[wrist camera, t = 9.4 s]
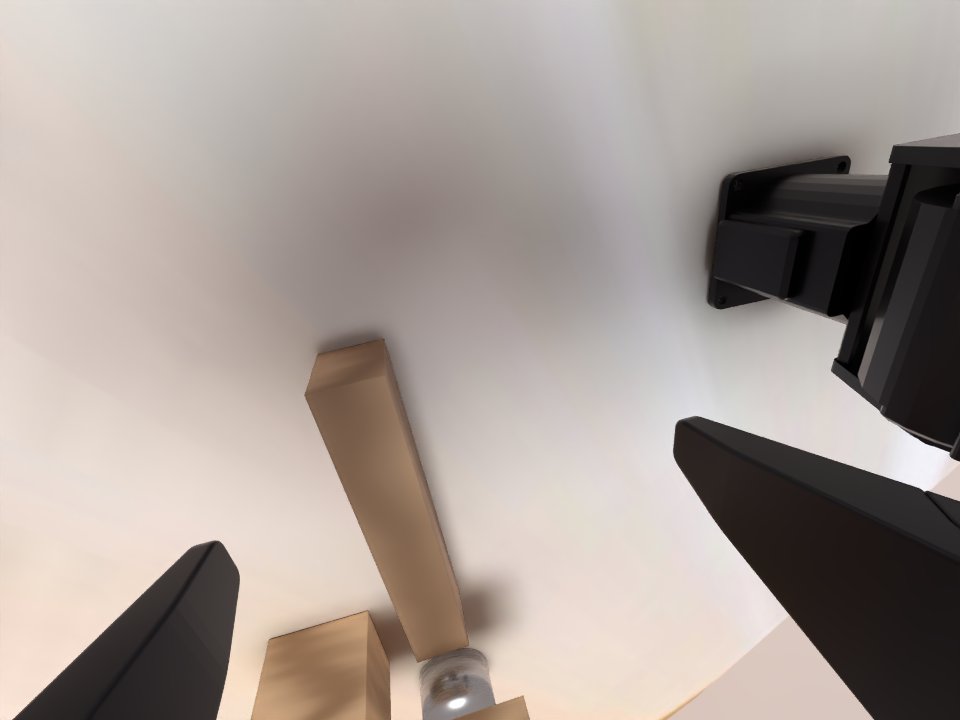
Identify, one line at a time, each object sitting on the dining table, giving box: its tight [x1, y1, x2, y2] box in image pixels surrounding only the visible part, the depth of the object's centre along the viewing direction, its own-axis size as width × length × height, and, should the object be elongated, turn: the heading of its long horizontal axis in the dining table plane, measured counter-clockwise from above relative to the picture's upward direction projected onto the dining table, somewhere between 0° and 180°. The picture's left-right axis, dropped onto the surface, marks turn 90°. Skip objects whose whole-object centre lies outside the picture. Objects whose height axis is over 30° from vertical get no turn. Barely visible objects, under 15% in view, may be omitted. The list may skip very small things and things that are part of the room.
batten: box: [305, 339, 469, 662], centre depth 21 cm, size 3×18×4 cm, turn 9°
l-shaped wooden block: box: [251, 611, 530, 720], centre depth 24 cm, size 14×6×10 cm, turn 97°
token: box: [420, 648, 496, 720], centre depth 30 cm, size 5×5×3 cm
